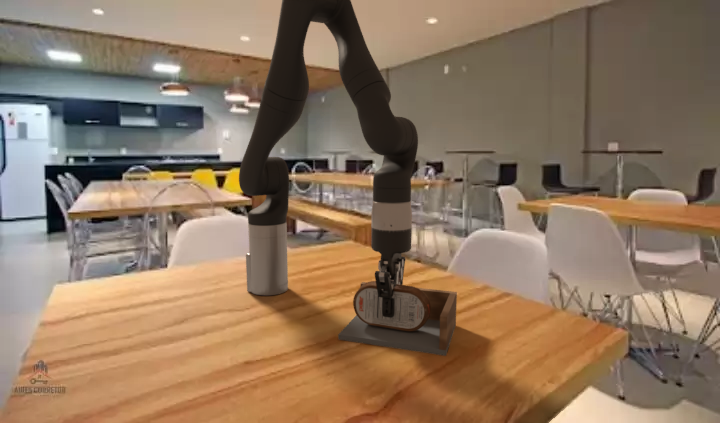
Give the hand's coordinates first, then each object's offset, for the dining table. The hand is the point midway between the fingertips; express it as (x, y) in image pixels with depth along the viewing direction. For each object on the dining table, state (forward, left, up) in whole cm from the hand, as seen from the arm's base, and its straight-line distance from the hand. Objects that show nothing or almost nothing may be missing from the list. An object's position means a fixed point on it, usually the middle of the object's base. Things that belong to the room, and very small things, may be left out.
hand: (390, 313), depth 85 cm
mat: (+1, +1, -4) cm, 5 cm away
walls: (+1, +1, -4) cm, 5 cm away
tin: (0, 0, -3) cm, 3 cm away
